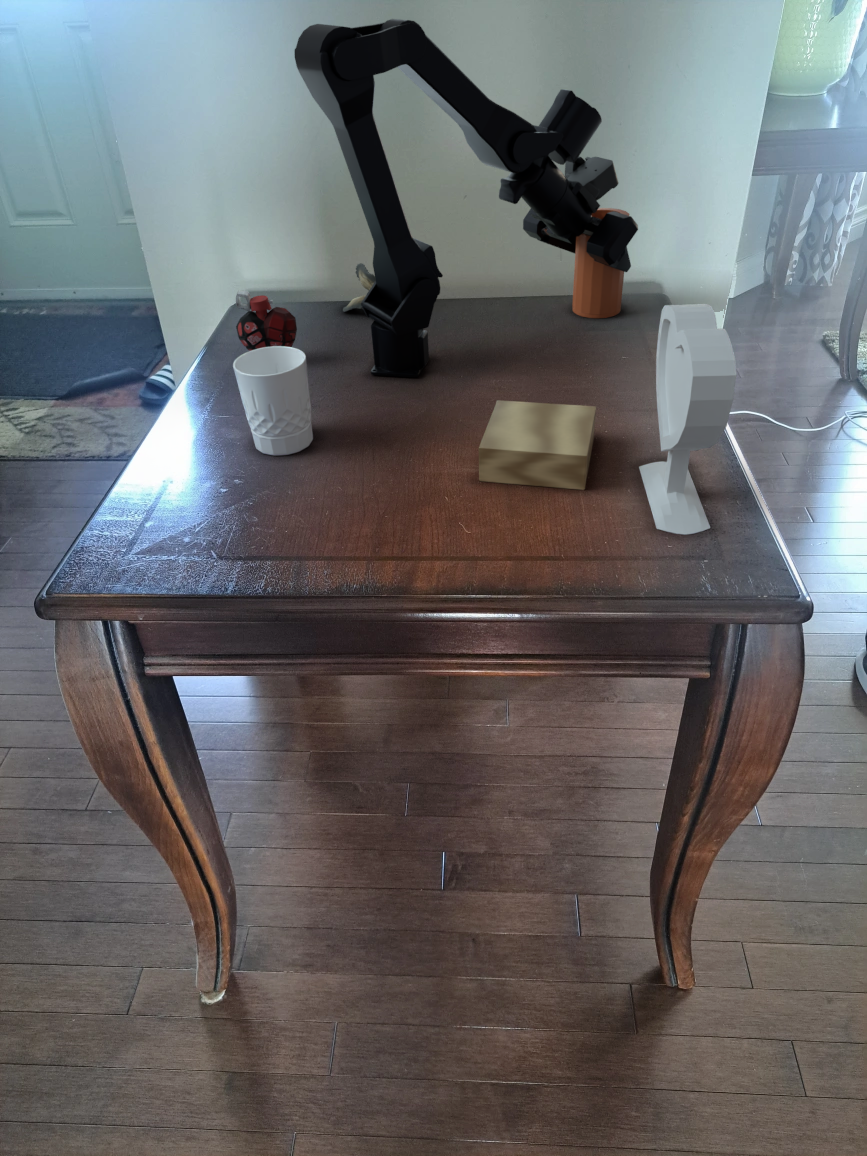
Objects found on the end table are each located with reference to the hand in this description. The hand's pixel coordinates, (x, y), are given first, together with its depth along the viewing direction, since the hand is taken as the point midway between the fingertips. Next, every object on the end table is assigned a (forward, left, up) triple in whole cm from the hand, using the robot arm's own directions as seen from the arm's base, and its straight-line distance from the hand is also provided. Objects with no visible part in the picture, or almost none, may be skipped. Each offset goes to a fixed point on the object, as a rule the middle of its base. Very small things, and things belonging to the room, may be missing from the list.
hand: (606, 261), depth 121 cm
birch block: (-3, -46, -7) cm, 47 cm away
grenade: (-43, -26, -7) cm, 51 cm away
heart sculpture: (+11, -52, -7) cm, 53 cm away
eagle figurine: (-35, -5, -7) cm, 36 cm away
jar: (-1, -1, -7) cm, 7 cm away
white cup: (-33, -47, -7) cm, 58 cm away
